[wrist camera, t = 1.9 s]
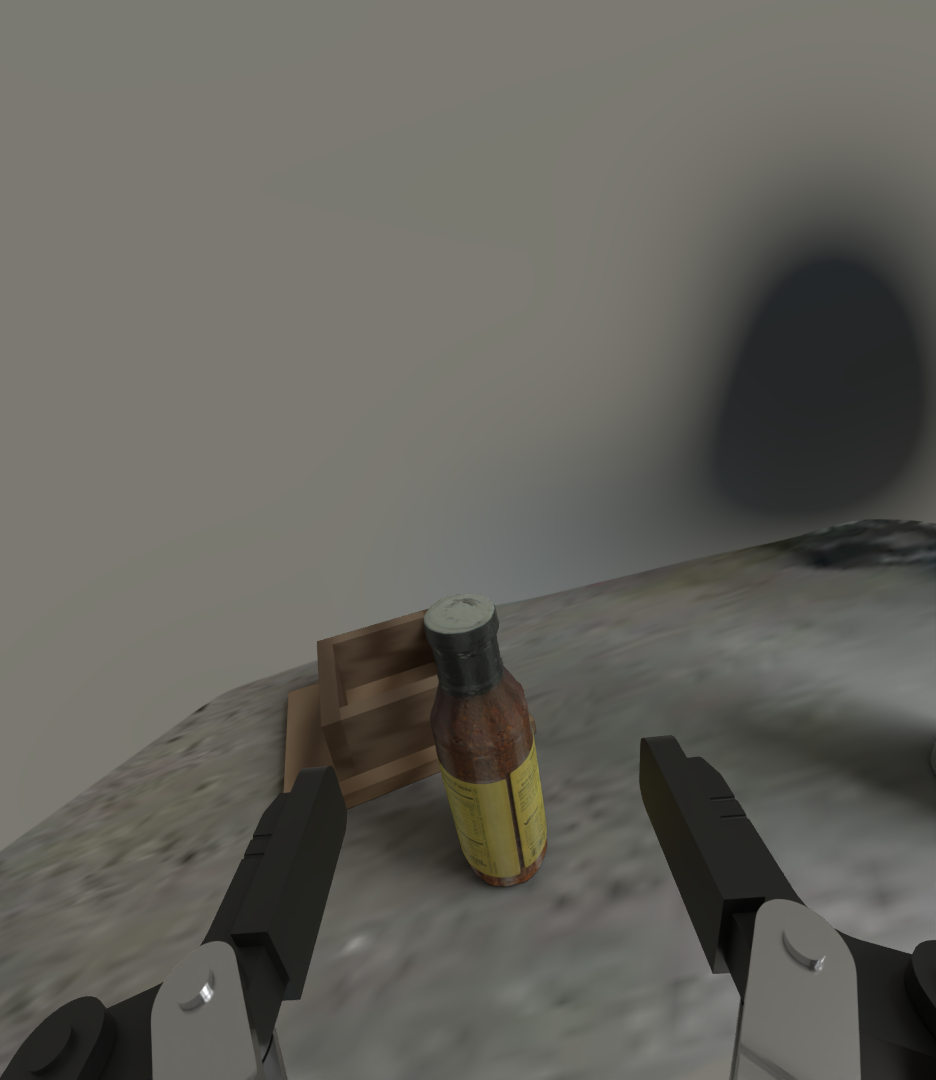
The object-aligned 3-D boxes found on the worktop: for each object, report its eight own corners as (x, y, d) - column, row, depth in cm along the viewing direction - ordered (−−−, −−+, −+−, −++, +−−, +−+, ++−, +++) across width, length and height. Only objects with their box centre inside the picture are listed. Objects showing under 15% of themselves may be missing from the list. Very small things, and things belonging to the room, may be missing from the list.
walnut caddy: (474, 643, 54) (467, 590, 51) (536, 732, 40) (529, 666, 37) (292, 702, 48) (272, 647, 45) (287, 833, 34) (258, 763, 31)
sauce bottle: (523, 792, 35) (498, 570, 27) (566, 869, 29) (548, 616, 22) (446, 826, 33) (397, 598, 26) (475, 915, 27) (423, 656, 20)
